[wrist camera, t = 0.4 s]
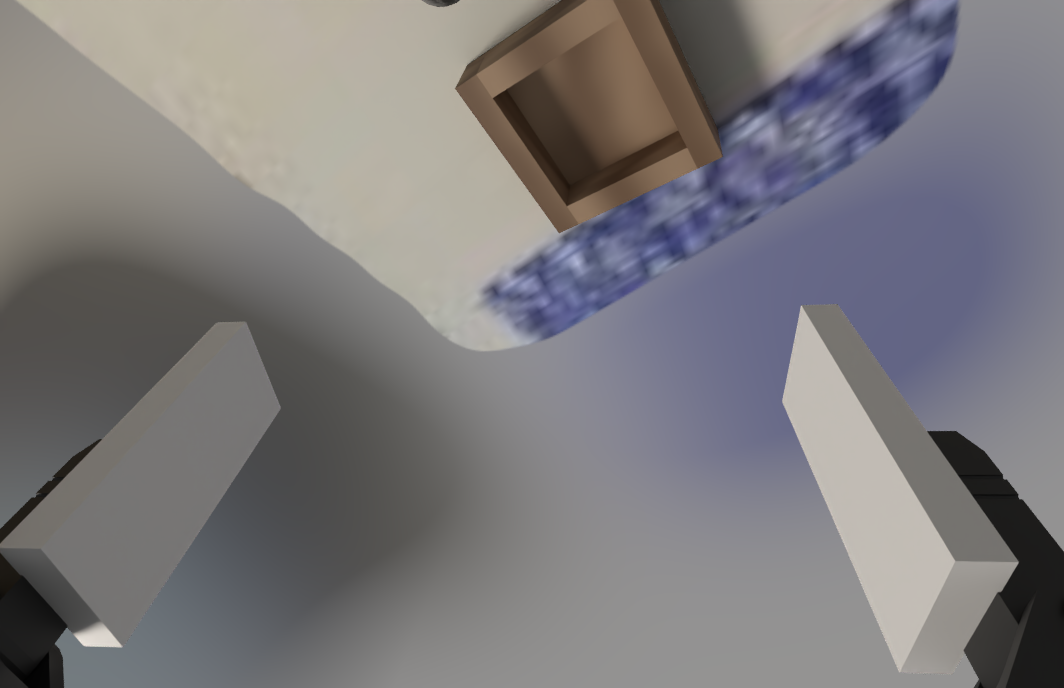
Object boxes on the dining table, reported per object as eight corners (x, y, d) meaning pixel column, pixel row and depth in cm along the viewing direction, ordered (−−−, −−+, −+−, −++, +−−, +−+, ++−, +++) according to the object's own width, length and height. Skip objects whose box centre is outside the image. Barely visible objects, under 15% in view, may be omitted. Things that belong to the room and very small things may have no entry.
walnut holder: (635, -51, 30) (635, -32, 28) (717, 129, 36) (722, 156, 34) (467, 65, 35) (455, 88, 33) (563, 205, 41) (559, 233, 39)
